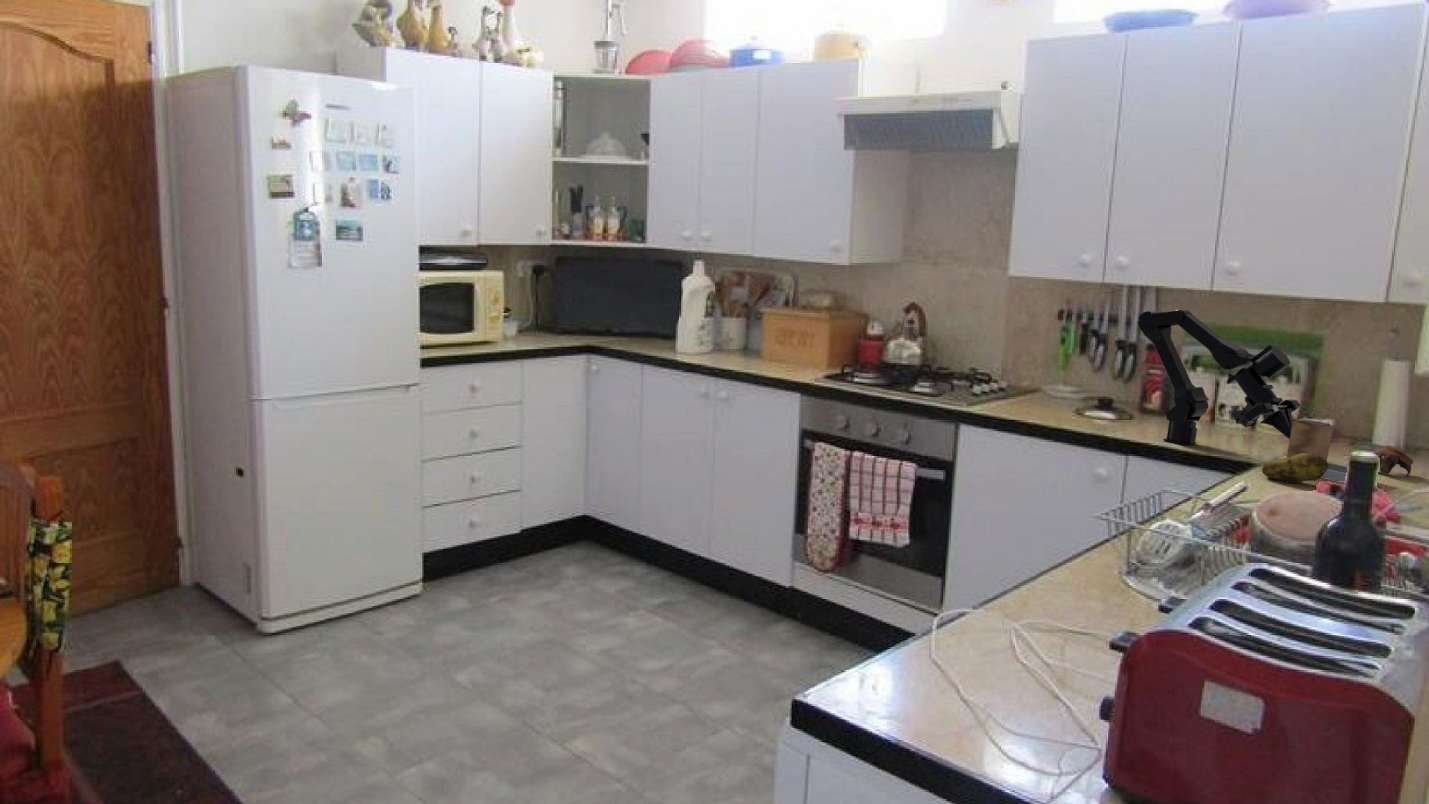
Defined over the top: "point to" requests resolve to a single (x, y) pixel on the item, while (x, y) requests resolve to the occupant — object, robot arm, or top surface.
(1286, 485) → the top surface
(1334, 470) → the blue-gray angular pronged part
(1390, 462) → the brown irregular pronged part
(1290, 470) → the potato
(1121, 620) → the top surface
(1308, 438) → the crate
